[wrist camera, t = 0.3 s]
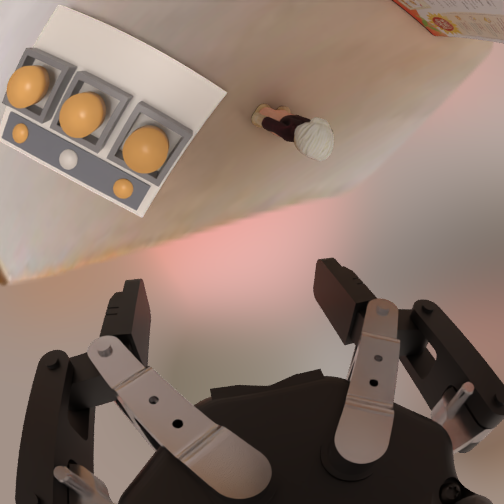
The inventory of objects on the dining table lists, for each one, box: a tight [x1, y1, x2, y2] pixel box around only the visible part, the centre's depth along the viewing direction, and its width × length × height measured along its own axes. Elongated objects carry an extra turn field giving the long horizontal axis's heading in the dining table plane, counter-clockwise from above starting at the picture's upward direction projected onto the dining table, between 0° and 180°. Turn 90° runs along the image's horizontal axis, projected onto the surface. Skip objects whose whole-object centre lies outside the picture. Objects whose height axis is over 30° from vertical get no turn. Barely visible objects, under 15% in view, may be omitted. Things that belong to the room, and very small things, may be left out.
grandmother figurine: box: [251, 104, 334, 161], centre depth 25 cm, size 8×4×13 cm, turn 91°
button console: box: [0, 5, 227, 218], centre depth 23 cm, size 16×21×5 cm
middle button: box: [59, 92, 106, 138], centre depth 20 cm, size 4×4×2 cm
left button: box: [7, 65, 50, 108], centre depth 17 cm, size 4×4×2 cm
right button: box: [123, 125, 169, 174], centre depth 24 cm, size 4×4×2 cm
